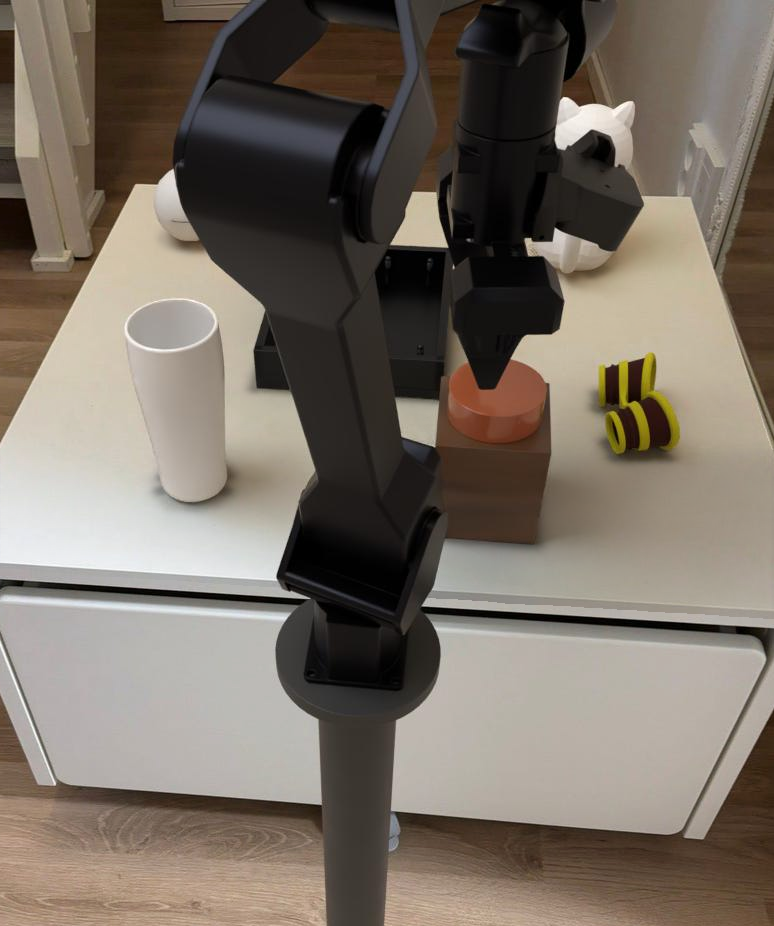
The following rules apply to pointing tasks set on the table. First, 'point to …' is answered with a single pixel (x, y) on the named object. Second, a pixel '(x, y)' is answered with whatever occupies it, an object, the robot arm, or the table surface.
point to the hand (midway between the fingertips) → (480, 347)
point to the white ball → (172, 209)
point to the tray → (394, 322)
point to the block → (492, 480)
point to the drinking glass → (181, 393)
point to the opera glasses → (636, 407)
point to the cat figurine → (616, 124)
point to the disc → (497, 404)
